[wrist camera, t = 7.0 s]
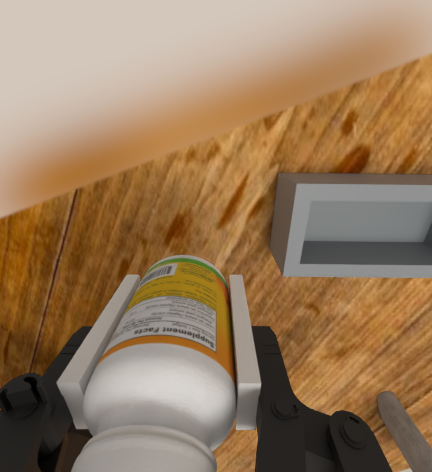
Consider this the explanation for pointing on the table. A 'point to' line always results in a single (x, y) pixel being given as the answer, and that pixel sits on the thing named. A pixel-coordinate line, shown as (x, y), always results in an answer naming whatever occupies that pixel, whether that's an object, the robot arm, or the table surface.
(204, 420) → the supplement bottle
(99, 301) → the table surface
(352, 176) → the tray
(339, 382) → the table surface
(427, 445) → the hip flask
